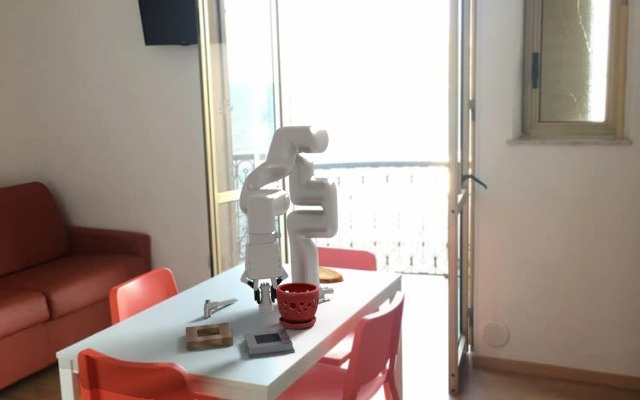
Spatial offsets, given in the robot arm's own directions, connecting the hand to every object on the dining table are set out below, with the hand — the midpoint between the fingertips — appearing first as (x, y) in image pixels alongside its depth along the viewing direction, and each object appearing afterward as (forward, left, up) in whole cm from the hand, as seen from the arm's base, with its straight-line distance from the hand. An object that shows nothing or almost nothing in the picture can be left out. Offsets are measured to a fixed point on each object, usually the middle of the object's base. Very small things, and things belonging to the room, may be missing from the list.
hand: (265, 301), depth 191 cm
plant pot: (-12, -16, -14) cm, 24 cm away
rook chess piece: (0, 0, -3) cm, 3 cm away
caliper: (+10, -39, -14) cm, 43 cm away
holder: (0, 0, -13) cm, 13 cm away
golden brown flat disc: (-30, -67, -14) cm, 75 cm away
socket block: (+16, -11, -13) cm, 24 cm away
